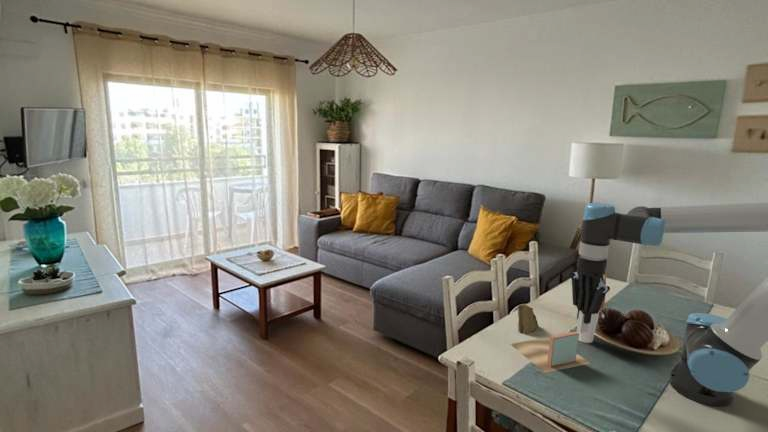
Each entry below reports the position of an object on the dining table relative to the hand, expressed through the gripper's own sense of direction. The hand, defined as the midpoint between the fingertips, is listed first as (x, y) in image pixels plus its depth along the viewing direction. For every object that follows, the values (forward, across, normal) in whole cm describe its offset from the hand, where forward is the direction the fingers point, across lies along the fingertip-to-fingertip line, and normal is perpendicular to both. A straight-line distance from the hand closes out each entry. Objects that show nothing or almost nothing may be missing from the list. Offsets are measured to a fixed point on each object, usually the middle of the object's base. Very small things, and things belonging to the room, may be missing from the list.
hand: (581, 331), depth 125 cm
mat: (+15, +13, 0) cm, 20 cm away
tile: (+15, +7, 0) cm, 16 cm away
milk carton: (+16, +38, -42) cm, 59 cm away
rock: (+16, +30, -5) cm, 34 cm away
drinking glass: (+16, +17, -19) cm, 30 cm away
